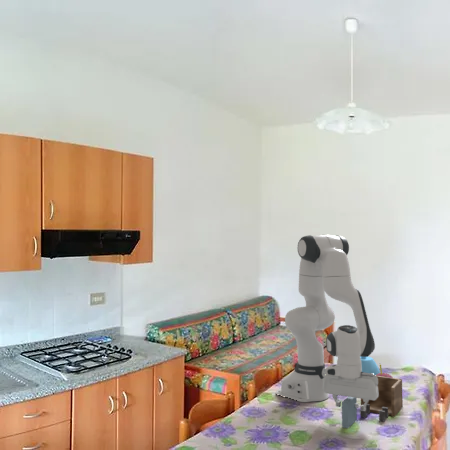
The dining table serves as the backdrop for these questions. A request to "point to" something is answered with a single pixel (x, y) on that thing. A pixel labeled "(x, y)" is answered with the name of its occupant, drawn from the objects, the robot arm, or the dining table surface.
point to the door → (349, 411)
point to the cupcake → (383, 374)
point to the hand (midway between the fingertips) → (350, 408)
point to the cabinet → (385, 398)
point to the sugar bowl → (369, 365)
